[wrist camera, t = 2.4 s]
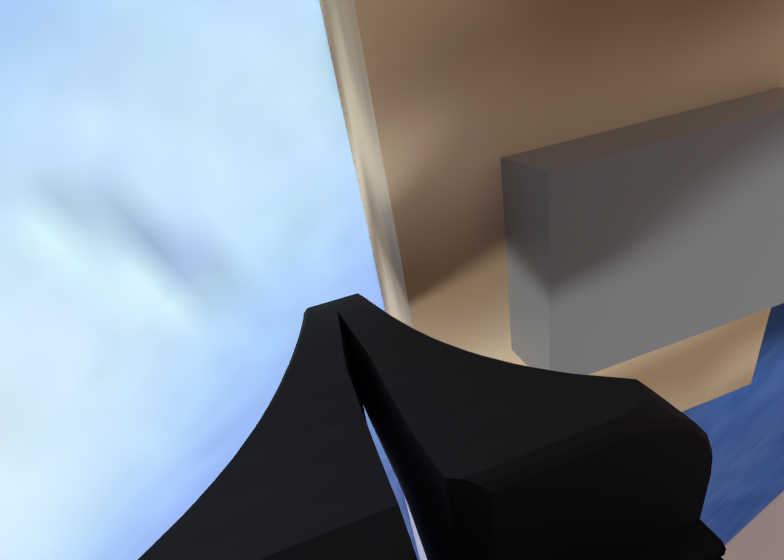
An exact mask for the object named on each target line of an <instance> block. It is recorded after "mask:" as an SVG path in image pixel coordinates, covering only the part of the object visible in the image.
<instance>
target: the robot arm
mask: <svg viewBox="0 0 784 560" xmlns="http://www.w3.org/2000/svg"><path fill="white" fill-rule="evenodd" d="M363 405H364V408H365V410H366V412H367V414H368V416H369V419H370V421H371V423H372V425H373V427H374V429H375V432H376V434H377V436H378V438H379V440H380V442H381V444H382V447H383V449H384V451H385V453H386V455H387V457H388V460H389V462H390V464H391V466H392V468H393V470H394V472H395V475H396V477H397V479H398V481H399V484H400V486H401V488H402V491H403V493H404V497H405V501H406V505H407V509H408V513H409V517H410V521H411V525H412V530H413V534H414V538H415V542H416V546H417V550H418V554H419V558H420V560H723V559H722V558H721V556H723V555H724V554H725V550H726V548H725V546H724V544H723V542H722V540H721V539H720V538H718V537H717V536H716V535H715V534H714V533H713V532H712V531H711V530H710V529H709V528H708V527H707V526H706V525H705V524H704V523H703V522H702V521H701V520H700V516H701V512H702V507H703V503H704V499H705V495H706V491H707V487H708V483H709V479H710V475H711V466H712V449H711V446H710V442H709V439H708V436H707V434H706V433H705V432H704V431H703V430H702V429H701V428H700V427H699V426H698V425H697V424H696V423H695V422H694V421H692V420H691V419H690V418H688V417H687V416H686V415H684V414H683V413H682V412H681V411H679V410H678V409H677V408H675V407H674V406H673V405H671V404H670V403H669V402H668V401H666V400H665V399H664V398H662V397H661V396H660V395H658V394H657V393H656V392H654V391H653V390H651V389H650V388H649V387H647V386H646V385H644V384H643V383H641V382H640V381H638V380H637V379H629V378H618V377H606V376H595V375H584V374H573V373H565V372H559V371H553V370H547V369H540V368H534V367H529V366H524V365H519V364H514V363H510V362H506V361H502V360H498V359H494V358H490V357H486V356H482V355H479V354H476V353H472V352H469V351H466V350H463V349H461V348H458V347H455V346H452V345H450V344H447V343H444V342H442V341H439V340H437V339H434V338H432V337H430V336H428V335H426V334H424V333H422V332H419V331H417V330H415V329H413V328H412V327H410V326H408V325H406V324H404V323H403V322H401V321H399V320H398V319H396V318H394V317H392V316H391V315H389V314H388V313H386V312H385V311H383V310H382V309H380V308H379V307H377V306H376V305H374V304H373V303H371V302H370V301H368V300H367V299H366V298H364V297H363V296H361V295H359V294H358V293H357V294H354V295H351V296H347V297H344V298H340V299H337V300H334V301H330V302H327V303H324V304H320V305H317V306H313V307H310V308H307V310H306V311H305V313H304V318H303V323H302V327H301V331H300V335H299V338H298V341H297V344H296V347H295V350H294V352H293V355H292V358H291V360H290V363H289V365H288V367H287V370H286V372H285V374H284V376H283V378H282V381H281V383H280V385H279V387H278V389H277V391H276V393H275V395H274V397H273V399H272V400H271V402H270V404H269V406H268V408H267V409H266V411H265V413H264V414H263V416H262V418H261V419H260V421H259V422H258V424H257V425H256V427H255V428H254V430H253V431H252V433H251V434H250V436H249V437H248V438H247V440H246V441H245V442H244V444H243V445H242V447H241V448H240V449H239V451H238V452H237V453H236V455H235V456H234V458H233V459H232V460H231V461H230V463H229V464H228V465H227V466H226V467H225V469H224V470H223V471H222V472H221V473H220V475H219V476H218V477H217V478H216V479H215V481H214V482H213V483H212V484H211V485H210V486H209V487H208V488H207V490H206V491H205V492H204V493H203V494H202V495H201V496H200V497H199V499H198V500H197V501H196V502H195V503H194V504H193V505H192V506H191V507H190V508H189V509H188V510H187V511H186V513H185V514H184V515H183V516H182V517H181V518H180V519H179V520H178V521H177V522H176V523H175V524H174V525H173V526H172V527H171V528H170V529H169V530H168V531H167V532H166V533H165V534H164V535H162V536H161V537H160V538H159V539H158V540H157V541H156V542H155V543H154V544H153V545H152V546H151V547H150V548H149V549H148V550H147V551H146V552H145V553H144V554H143V555H142V556H141V557H140V558H139V559H138V560H417V557H416V554H415V551H414V548H413V545H412V542H411V539H410V536H409V534H408V531H407V528H406V525H405V522H404V519H403V516H402V513H401V510H400V508H399V505H398V502H397V500H396V497H395V495H394V492H393V490H392V488H391V485H390V483H389V480H388V478H387V475H386V472H385V470H384V467H383V465H382V462H381V460H380V457H379V455H378V452H377V450H376V447H375V444H374V442H373V439H372V436H371V434H370V431H369V428H368V426H367V422H366V417H365V412H364V408H363Z"/></svg>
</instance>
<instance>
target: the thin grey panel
mask: <svg viewBox="0 0 784 560" xmlns="http://www.w3.org/2000/svg"><path fill="white" fill-rule="evenodd" d="M501 174H502V191H503V209H504V226H505V243H506V260H507V278H508V295H509V312H510V329H511V347H512V350H513V351H514V352H515V354H516V355H517V356H518V357H519V358H520V359H521V360H522V361H523V362H524V363H525V364H526V365H527V366H529V367H534V368H540V369H547V370H553V371H559V372H565V373H573V374H584V375H589V374H592V373H595V372H597V371H600V370H603V369H605V368H608V367H611V366H614V365H616V364H619V363H622V362H624V361H627V360H630V359H633V358H635V357H638V356H641V355H644V354H646V353H649V352H652V351H654V350H657V349H660V348H663V347H665V346H668V345H671V344H673V343H676V342H679V341H682V340H684V339H687V338H690V337H692V336H695V335H698V334H701V333H703V332H706V331H709V330H712V329H714V328H717V327H720V326H722V325H725V324H728V323H731V322H733V321H736V320H739V319H741V318H744V317H747V316H750V315H752V314H755V313H758V312H761V311H763V310H766V309H769V308H771V307H774V306H777V305H780V304H782V303H784V87H779V88H775V89H771V90H767V91H764V92H760V93H756V94H752V95H748V96H744V97H740V98H736V99H732V100H728V101H724V102H720V103H716V104H712V105H708V106H704V107H700V108H696V109H692V110H688V111H684V112H680V113H676V114H672V115H668V116H664V117H660V118H656V119H652V120H648V121H644V122H640V123H636V124H632V125H628V126H624V127H620V128H617V129H613V130H609V131H605V132H601V133H597V134H593V135H589V136H585V137H581V138H577V139H573V140H569V141H565V142H561V143H557V144H553V145H549V146H545V147H541V148H537V149H533V150H529V151H525V152H521V153H517V154H513V155H509V156H505V157H501Z"/></svg>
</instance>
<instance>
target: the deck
mask: <svg viewBox="0 0 784 560" xmlns="http://www.w3.org/2000/svg"><path fill="white" fill-rule="evenodd" d="M320 5H321V10H322V15H323V19H324V24H325V29H326V33H327V38H328V43H329V48H330V52H331V57H332V62H333V66H334V71H335V76H336V81H337V85H338V90H339V95H340V99H341V104H342V109H343V114H344V118H345V123H346V128H347V132H348V137H349V142H350V147H351V151H352V156H353V161H354V165H355V170H356V175H357V180H358V184H359V189H360V194H361V198H362V203H363V208H364V213H365V217H366V222H367V227H368V231H369V236H370V241H371V246H372V250H373V255H374V260H375V264H376V269H377V274H378V279H379V283H380V288H381V293H382V297H383V302H384V307H385V312H386V313H388V314H389V315H391V316H392V317H394V318H396V319H398V320H399V321H401V322H403V323H404V324H406V325H408V326H410V327H412V328H413V329H415V330H417V331H419V332H422V333H424V334H426V335H428V336H430V337H432V338H434V339H437V340H439V341H442V342H444V343H447V344H450V345H452V346H455V347H458V348H461V349H463V350H466V351H469V352H472V353H476V354H479V355H482V356H486V357H490V358H494V359H498V360H502V361H506V362H510V363H514V364H519V365H524V366H527V365H526V364H525V363H524V362H523V361H522V360H521V359H520V358H519V357H518V356H517V355H516V354H515V352H514V351H513V350H512V347H511V329H510V312H509V295H508V278H507V260H506V243H505V226H504V209H503V191H502V174H501V157H505V156H509V155H513V154H517V153H521V152H525V151H529V150H533V149H537V148H541V147H545V146H549V145H553V144H557V143H561V142H565V141H569V140H573V139H577V138H581V137H585V136H589V135H593V134H597V133H601V132H605V131H609V130H613V129H617V128H620V127H624V126H628V125H632V124H636V123H640V122H644V121H648V120H652V119H656V118H660V117H664V116H668V115H672V114H676V113H680V112H684V111H688V110H692V109H696V108H700V107H704V106H708V105H712V104H716V103H720V102H724V101H728V100H732V99H736V98H740V97H744V96H748V95H752V94H756V93H760V92H764V91H767V90H771V89H775V88H779V87H784V0H320ZM770 310H771V308H769V309H766V310H763V311H761V312H758V313H755V314H752V315H750V316H747V317H744V318H741V319H739V320H736V321H733V322H731V323H728V324H725V325H722V326H720V327H717V328H714V329H712V330H709V331H706V332H703V333H701V334H698V335H695V336H692V337H690V338H687V339H684V340H682V341H679V342H676V343H673V344H671V345H668V346H665V347H663V348H660V349H657V350H654V351H652V352H649V353H646V354H644V355H641V356H638V357H635V358H633V359H630V360H627V361H624V362H622V363H619V364H616V365H614V366H611V367H608V368H605V369H603V370H600V371H597V372H595V373H592V374H589V375H595V376H606V377H618V378H629V379H637V380H638V381H640V382H641V383H643V384H644V385H646V386H647V387H649V388H650V389H651V390H653V391H654V392H656V393H657V394H658V395H660V396H661V397H662V398H664V399H665V400H666V401H668V402H669V403H670V404H671V405H673V406H674V407H675V408H677V409H678V410H679V411H681V412H682V411H685V410H687V409H690V408H692V407H695V406H697V405H700V404H702V403H705V402H707V401H710V400H712V399H715V398H717V397H720V396H722V395H725V394H727V393H730V392H732V391H734V390H737V389H739V388H742V387H744V386H747V385H749V384H751V381H752V378H753V374H754V370H755V366H756V362H757V359H758V355H759V351H760V347H761V344H762V340H763V336H764V332H765V329H766V325H767V321H768V317H769V314H770Z"/></svg>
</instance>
